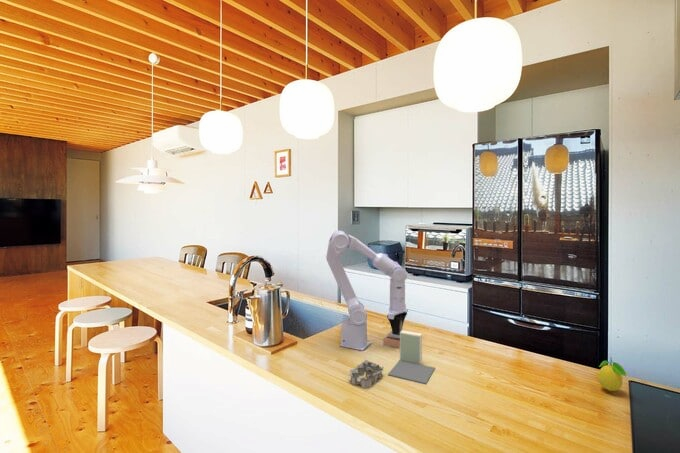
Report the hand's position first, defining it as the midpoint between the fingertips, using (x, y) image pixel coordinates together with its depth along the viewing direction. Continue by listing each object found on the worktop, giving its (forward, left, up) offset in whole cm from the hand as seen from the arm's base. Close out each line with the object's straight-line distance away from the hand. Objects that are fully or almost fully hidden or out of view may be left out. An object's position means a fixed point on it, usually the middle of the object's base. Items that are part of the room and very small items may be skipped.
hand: (397, 332), depth 134 cm
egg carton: (0, -29, -5) cm, 30 cm away
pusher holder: (0, 0, -5) cm, 5 cm away
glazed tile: (+9, -12, -5) cm, 16 cm away
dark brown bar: (0, 0, -4) cm, 3 cm away
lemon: (+65, -4, -5) cm, 65 cm away
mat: (+12, -19, -5) cm, 23 cm away
